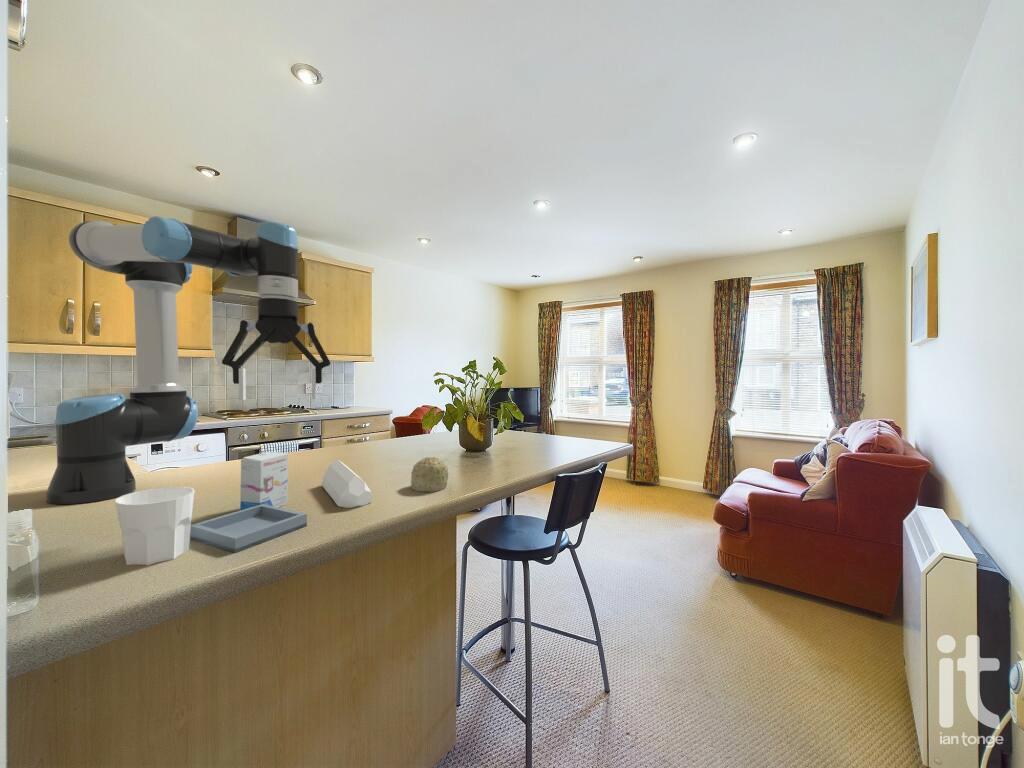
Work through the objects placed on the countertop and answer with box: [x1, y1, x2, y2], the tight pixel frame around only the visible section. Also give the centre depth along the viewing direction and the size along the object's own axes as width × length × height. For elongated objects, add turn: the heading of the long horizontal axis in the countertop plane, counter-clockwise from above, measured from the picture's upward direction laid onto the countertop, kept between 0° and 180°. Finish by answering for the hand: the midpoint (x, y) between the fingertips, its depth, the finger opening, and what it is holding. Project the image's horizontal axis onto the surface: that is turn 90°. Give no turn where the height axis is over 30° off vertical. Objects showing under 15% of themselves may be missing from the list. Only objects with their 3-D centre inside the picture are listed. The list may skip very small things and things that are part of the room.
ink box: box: [239, 451, 289, 511], centre depth 95 cm, size 9×5×12 cm, turn 168°
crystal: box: [321, 459, 373, 509], centre depth 107 cm, size 7×7×24 cm
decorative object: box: [410, 456, 449, 493], centre depth 114 cm, size 9×10×10 cm
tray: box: [190, 504, 308, 554], centre depth 82 cm, size 13×14×2 cm
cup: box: [114, 486, 195, 566], centre depth 72 cm, size 10×10×10 cm
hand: (279, 399), depth 94 cm, fingers open, 13 cm apart
